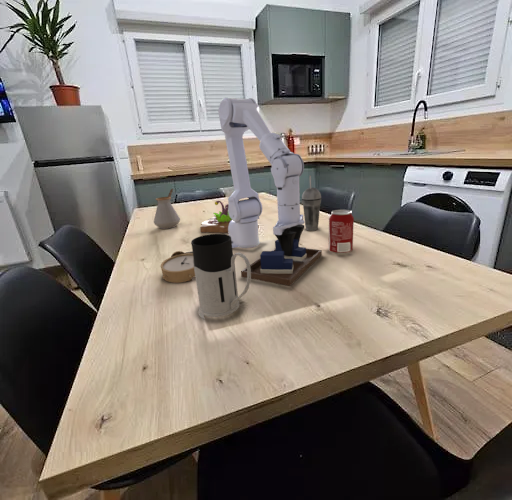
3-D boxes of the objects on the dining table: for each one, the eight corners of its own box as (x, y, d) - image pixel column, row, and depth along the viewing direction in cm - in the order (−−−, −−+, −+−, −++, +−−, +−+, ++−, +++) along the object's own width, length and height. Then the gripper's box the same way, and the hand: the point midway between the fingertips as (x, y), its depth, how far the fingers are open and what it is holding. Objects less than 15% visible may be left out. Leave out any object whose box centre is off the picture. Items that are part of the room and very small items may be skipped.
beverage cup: (324, 227, 113) (324, 173, 107) (317, 232, 108) (317, 176, 101) (306, 225, 117) (305, 174, 111) (298, 230, 112) (297, 176, 105)
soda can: (353, 255, 83) (355, 214, 79) (328, 255, 85) (329, 214, 81) (351, 248, 89) (352, 208, 86) (328, 248, 91) (328, 209, 87)
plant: (209, 221, 136) (206, 197, 132) (251, 220, 133) (249, 195, 129) (195, 234, 117) (191, 206, 114) (243, 232, 114) (240, 203, 111)
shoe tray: (241, 279, 74) (240, 271, 73) (280, 252, 90) (279, 245, 90) (289, 289, 67) (289, 279, 66) (321, 257, 84) (321, 250, 83)
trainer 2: (274, 257, 82) (273, 241, 80) (280, 253, 85) (279, 237, 83) (301, 261, 78) (301, 244, 76) (306, 257, 81) (306, 240, 79)
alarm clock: (153, 273, 74) (172, 244, 87) (158, 289, 76) (175, 259, 89) (197, 272, 72) (209, 243, 85) (200, 288, 75) (212, 257, 88)
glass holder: (222, 295, 66) (214, 230, 62) (270, 315, 57) (265, 241, 52) (189, 311, 61) (178, 241, 56) (236, 337, 51) (227, 256, 46)
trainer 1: (260, 273, 74) (259, 255, 73) (262, 267, 78) (261, 250, 76) (292, 273, 73) (291, 255, 71) (293, 268, 76) (293, 250, 74)
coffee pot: (177, 229, 127) (171, 194, 122) (151, 230, 128) (144, 196, 123) (188, 217, 147) (184, 187, 143) (166, 219, 148) (160, 189, 143)
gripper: (290, 210, 69) (292, 264, 73) (313, 199, 80) (313, 246, 85) (264, 209, 72) (267, 260, 77) (289, 198, 84) (291, 244, 88)
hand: (290, 253), depth 81 cm, fingers closed on trainer 2, 3 cm apart
